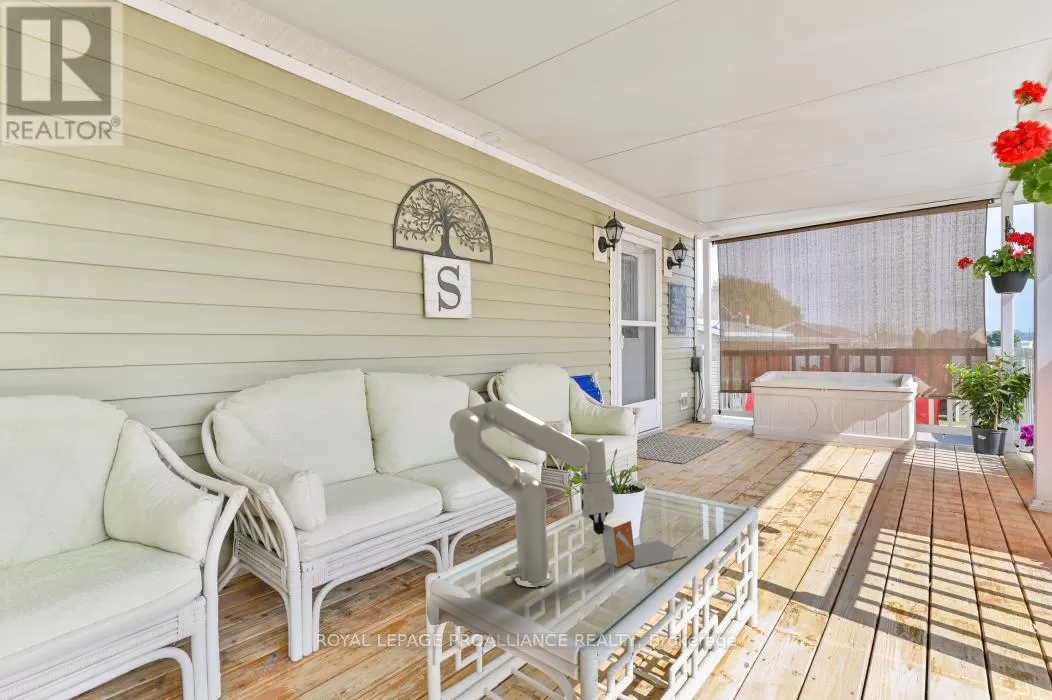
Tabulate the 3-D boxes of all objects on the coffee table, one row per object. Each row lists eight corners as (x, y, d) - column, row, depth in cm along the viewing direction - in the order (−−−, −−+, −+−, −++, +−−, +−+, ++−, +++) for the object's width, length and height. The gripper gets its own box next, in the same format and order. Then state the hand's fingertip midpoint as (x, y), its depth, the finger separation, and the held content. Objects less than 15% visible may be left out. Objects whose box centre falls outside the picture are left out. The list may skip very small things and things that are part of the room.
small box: (618, 567, 163) (613, 527, 163) (604, 562, 168) (599, 523, 168) (636, 559, 167) (631, 520, 167) (622, 553, 173) (617, 515, 172)
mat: (634, 569, 161) (634, 567, 161) (609, 551, 176) (609, 550, 176) (687, 557, 168) (687, 555, 168) (659, 541, 183) (659, 540, 183)
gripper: (579, 482, 159) (583, 541, 159) (621, 475, 164) (625, 532, 164) (569, 477, 167) (573, 533, 166) (609, 471, 172) (613, 525, 171)
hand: (599, 532), depth 165 cm, fingers closed
